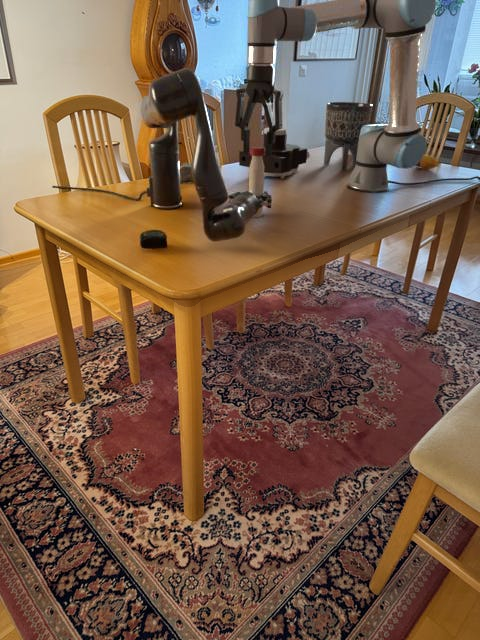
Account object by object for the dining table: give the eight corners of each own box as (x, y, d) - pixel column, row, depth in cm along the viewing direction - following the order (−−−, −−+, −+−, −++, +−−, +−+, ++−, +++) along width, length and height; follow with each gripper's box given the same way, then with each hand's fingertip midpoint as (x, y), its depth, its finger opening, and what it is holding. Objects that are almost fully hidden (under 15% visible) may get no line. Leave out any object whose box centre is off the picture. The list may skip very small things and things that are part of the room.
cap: (248, 153, 136) (248, 146, 135) (262, 153, 137) (262, 146, 136) (252, 156, 133) (252, 148, 132) (266, 155, 134) (266, 148, 133)
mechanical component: (240, 120, 182) (283, 115, 202) (239, 174, 192) (280, 164, 212) (283, 126, 170) (325, 120, 190) (280, 183, 180) (320, 171, 200)
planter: (313, 167, 208) (319, 103, 195) (331, 160, 222) (338, 101, 209) (353, 173, 199) (362, 107, 185) (369, 166, 213) (379, 104, 199)
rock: (198, 175, 188) (197, 159, 184) (210, 180, 182) (210, 163, 179) (170, 180, 180) (169, 163, 177) (183, 185, 175) (182, 168, 171)
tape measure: (140, 252, 115) (139, 238, 113) (141, 242, 120) (140, 229, 119) (167, 251, 116) (166, 237, 114) (167, 241, 121) (166, 228, 120)
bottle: (246, 216, 143) (247, 150, 133) (250, 212, 147) (252, 148, 137) (259, 217, 142) (262, 151, 132) (263, 213, 145) (266, 149, 136)
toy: (413, 162, 205) (407, 155, 217) (415, 176, 208) (410, 168, 220) (439, 154, 201) (432, 147, 214) (441, 168, 204) (434, 161, 217)
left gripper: (267, 197, 126) (280, 183, 140) (218, 192, 129) (236, 179, 143) (266, 223, 129) (279, 207, 144) (219, 218, 133) (236, 203, 147)
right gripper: (299, 66, 123) (292, 155, 134) (234, 64, 130) (233, 148, 141) (289, 66, 117) (283, 159, 128) (222, 64, 124) (222, 152, 135)
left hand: (257, 193), depth 143 cm, fingers closed on bottle, 4 cm apart
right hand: (257, 153), depth 135 cm, fingers open, 7 cm apart
